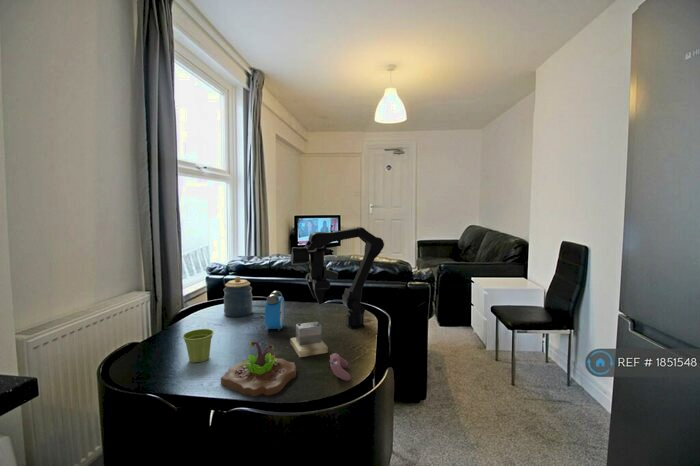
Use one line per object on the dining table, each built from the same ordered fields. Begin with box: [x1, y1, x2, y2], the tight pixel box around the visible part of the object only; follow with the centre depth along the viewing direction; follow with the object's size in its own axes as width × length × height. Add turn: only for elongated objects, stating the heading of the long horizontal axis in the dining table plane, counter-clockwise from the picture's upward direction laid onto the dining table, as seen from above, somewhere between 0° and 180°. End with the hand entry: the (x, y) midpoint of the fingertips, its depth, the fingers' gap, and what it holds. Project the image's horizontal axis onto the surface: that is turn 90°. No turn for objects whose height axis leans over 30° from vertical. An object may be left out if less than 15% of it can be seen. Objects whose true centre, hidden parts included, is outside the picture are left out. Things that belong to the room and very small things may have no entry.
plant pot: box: [182, 328, 215, 364], centre depth 117 cm, size 9×9×9 cm
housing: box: [295, 321, 323, 346], centre depth 127 cm, size 5×8×7 cm, turn 113°
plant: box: [220, 340, 297, 397], centre depth 105 cm, size 20×20×11 cm
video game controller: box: [329, 352, 351, 382], centre depth 107 cm, size 10×5×7 cm, turn 5°
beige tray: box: [289, 336, 329, 358], centre depth 127 cm, size 10×13×2 cm
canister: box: [223, 276, 253, 318], centre depth 167 cm, size 13×13×18 cm
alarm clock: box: [264, 290, 286, 332], centre depth 147 cm, size 13×6×15 cm, turn 1°
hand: (317, 301), depth 144 cm, fingers open, 9 cm apart
